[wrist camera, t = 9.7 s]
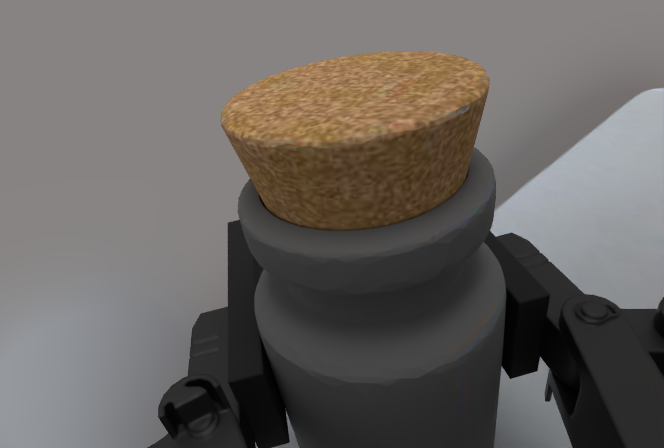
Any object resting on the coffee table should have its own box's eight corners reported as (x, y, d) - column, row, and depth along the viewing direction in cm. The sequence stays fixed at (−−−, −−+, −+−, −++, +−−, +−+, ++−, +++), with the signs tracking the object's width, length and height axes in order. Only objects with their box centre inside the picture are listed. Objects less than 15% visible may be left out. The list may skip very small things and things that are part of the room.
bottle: (390, 392, 19) (345, 38, 11) (518, 484, 16) (592, 46, 7) (292, 498, 16) (128, 117, 8) (420, 645, 12) (358, 205, 4)
